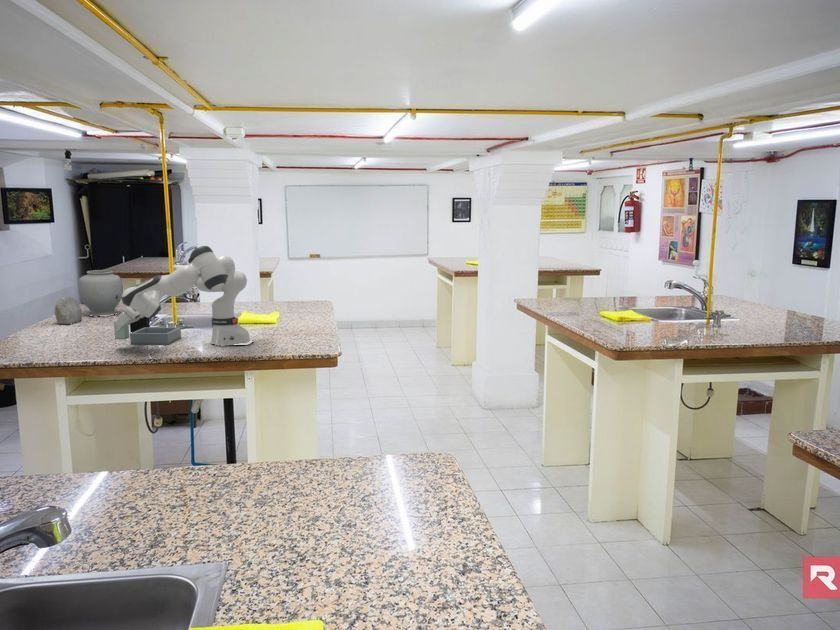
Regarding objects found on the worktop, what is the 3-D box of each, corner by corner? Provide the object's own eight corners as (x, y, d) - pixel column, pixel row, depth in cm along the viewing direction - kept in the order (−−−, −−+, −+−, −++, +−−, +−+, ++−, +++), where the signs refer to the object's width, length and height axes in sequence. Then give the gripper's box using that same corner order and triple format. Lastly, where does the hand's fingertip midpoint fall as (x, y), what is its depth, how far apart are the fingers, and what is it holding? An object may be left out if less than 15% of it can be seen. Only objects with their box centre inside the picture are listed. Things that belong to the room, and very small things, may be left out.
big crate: (181, 338, 358) (180, 327, 357) (168, 344, 340) (167, 333, 339) (145, 337, 358) (144, 327, 357) (130, 344, 340) (129, 333, 339)
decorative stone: (67, 326, 394) (53, 325, 395) (88, 320, 413) (74, 319, 414) (65, 299, 391) (50, 298, 392) (86, 294, 410) (72, 294, 412)
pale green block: (129, 337, 331) (128, 320, 330) (124, 339, 326) (123, 321, 325) (119, 337, 331) (118, 320, 330) (115, 339, 326) (113, 321, 325)
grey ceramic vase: (133, 313, 441) (130, 270, 436) (101, 319, 417) (98, 273, 412) (103, 311, 451) (100, 268, 446) (71, 316, 426) (67, 271, 421)
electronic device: (145, 333, 371) (144, 316, 369) (130, 332, 373) (129, 315, 371) (150, 332, 375) (149, 315, 373) (134, 331, 377) (133, 314, 375)
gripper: (142, 302, 336) (125, 320, 338) (124, 308, 316) (105, 327, 318) (151, 310, 337) (134, 328, 339) (133, 317, 317) (115, 336, 318)
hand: (120, 328), depth 328 cm, fingers closed on pale green block, 5 cm apart
